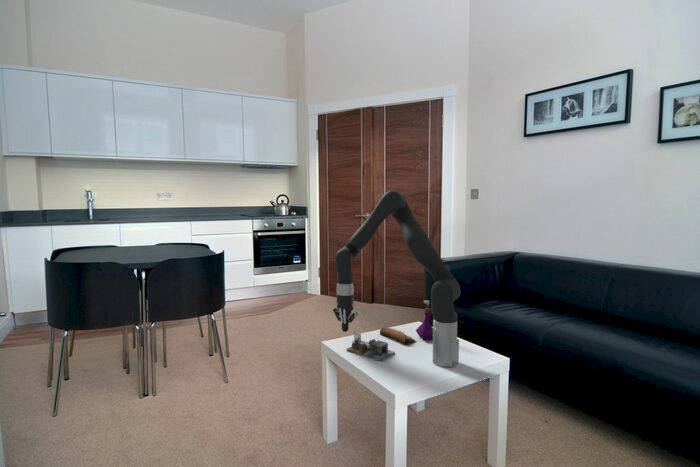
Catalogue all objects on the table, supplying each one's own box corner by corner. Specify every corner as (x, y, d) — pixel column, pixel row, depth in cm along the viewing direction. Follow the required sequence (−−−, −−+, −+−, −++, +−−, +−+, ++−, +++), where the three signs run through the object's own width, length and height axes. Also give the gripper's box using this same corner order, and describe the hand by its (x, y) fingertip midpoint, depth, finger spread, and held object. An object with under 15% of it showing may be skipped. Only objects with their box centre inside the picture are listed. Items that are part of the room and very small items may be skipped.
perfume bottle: (437, 340, 180) (437, 302, 179) (422, 342, 178) (422, 303, 177) (429, 335, 188) (430, 298, 186) (415, 336, 186) (415, 299, 184)
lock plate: (394, 354, 164) (395, 342, 164) (381, 361, 157) (381, 349, 156) (360, 344, 176) (360, 333, 175) (346, 351, 168) (346, 339, 168)
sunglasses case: (418, 341, 179) (413, 330, 177) (408, 352, 176) (403, 341, 173) (392, 331, 194) (387, 321, 191) (383, 340, 190) (377, 330, 188)
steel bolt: (370, 348, 168) (370, 334, 167) (366, 350, 166) (366, 336, 165) (356, 343, 173) (356, 330, 172) (351, 345, 171) (351, 332, 170)
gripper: (362, 293, 172) (361, 332, 173) (339, 289, 180) (339, 326, 182) (351, 296, 166) (351, 336, 168) (328, 292, 175) (328, 330, 176)
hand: (344, 331), depth 175 cm, fingers closed
